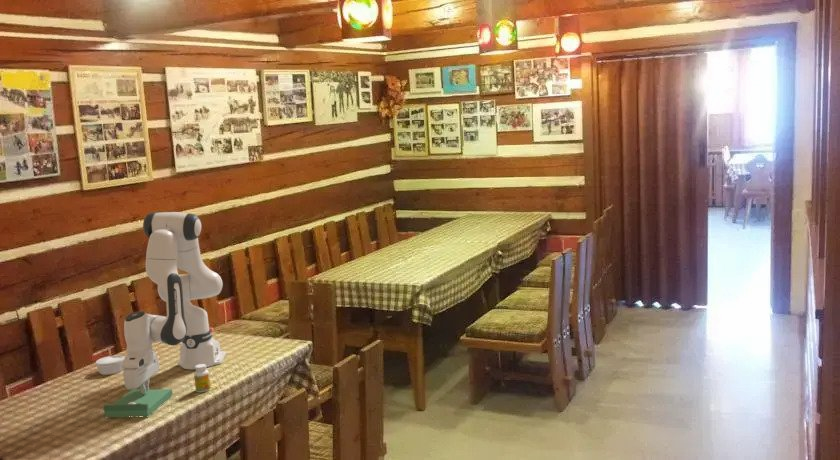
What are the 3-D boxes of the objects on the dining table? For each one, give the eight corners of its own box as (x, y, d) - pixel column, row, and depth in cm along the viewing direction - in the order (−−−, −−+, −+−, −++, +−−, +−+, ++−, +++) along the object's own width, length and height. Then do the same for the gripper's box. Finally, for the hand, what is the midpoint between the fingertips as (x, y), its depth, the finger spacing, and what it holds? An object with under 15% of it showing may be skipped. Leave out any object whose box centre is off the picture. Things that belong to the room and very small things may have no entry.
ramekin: (130, 366, 324) (129, 354, 324) (117, 375, 314) (116, 363, 313) (105, 367, 326) (104, 355, 325) (92, 376, 315) (90, 364, 314)
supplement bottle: (195, 393, 287) (193, 368, 285) (196, 388, 292) (193, 364, 290) (210, 391, 288) (207, 366, 287) (210, 386, 293) (207, 362, 292)
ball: (130, 406, 274) (127, 399, 272) (140, 406, 274) (136, 399, 272) (126, 414, 272) (123, 407, 269) (136, 414, 271) (132, 407, 269)
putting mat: (132, 396, 288) (130, 384, 288) (172, 395, 286) (171, 384, 286) (104, 417, 269) (103, 405, 268) (148, 417, 267) (146, 404, 266)
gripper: (145, 347, 290) (149, 381, 293) (118, 366, 270) (123, 402, 273) (161, 346, 289) (165, 381, 292) (135, 365, 269) (140, 402, 272)
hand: (145, 391), depth 282 cm, fingers closed
